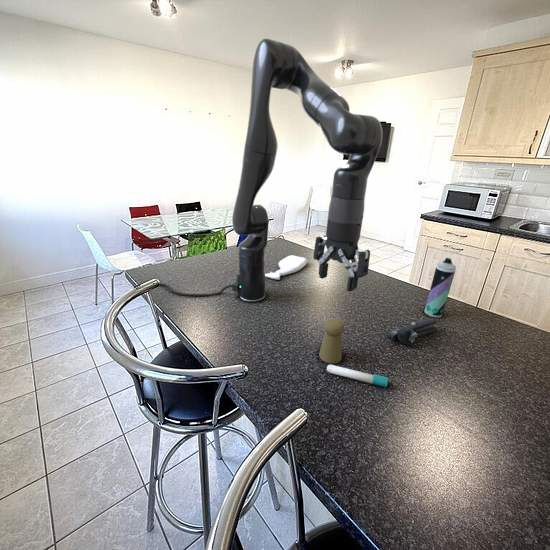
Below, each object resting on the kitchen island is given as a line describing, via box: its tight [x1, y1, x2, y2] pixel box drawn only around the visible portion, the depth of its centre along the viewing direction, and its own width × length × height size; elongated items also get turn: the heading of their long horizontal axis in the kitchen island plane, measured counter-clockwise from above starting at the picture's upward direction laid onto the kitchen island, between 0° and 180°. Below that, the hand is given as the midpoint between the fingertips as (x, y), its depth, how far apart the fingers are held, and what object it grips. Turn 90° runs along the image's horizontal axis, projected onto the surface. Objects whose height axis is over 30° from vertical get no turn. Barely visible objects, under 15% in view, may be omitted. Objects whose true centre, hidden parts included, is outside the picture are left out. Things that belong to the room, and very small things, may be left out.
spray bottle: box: [265, 254, 308, 281], centre depth 130 cm, size 3×11×24 cm
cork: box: [318, 317, 345, 365], centre depth 76 cm, size 6×6×11 cm
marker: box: [326, 364, 389, 388], centre depth 70 cm, size 14×2×2 cm, turn 70°
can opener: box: [387, 318, 438, 346], centre depth 86 cm, size 18×7×6 cm, turn 117°
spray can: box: [424, 257, 457, 318], centre depth 95 cm, size 6×6×20 cm
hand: (336, 283), depth 71 cm, fingers open, 8 cm apart
